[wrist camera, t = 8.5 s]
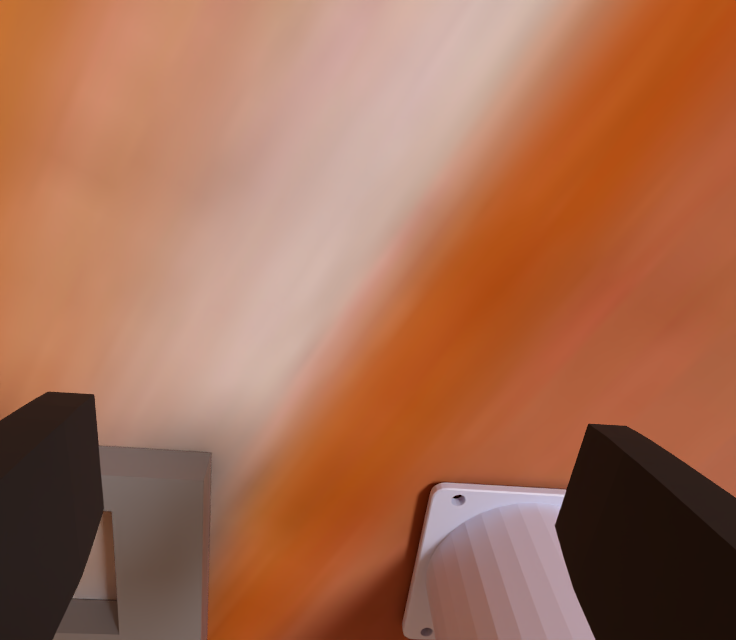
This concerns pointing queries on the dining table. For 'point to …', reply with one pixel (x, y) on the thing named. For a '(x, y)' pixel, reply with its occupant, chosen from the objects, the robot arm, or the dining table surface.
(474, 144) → the dining table surface
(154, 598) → the grey board with holes
